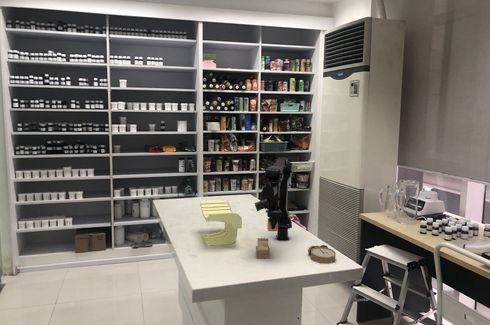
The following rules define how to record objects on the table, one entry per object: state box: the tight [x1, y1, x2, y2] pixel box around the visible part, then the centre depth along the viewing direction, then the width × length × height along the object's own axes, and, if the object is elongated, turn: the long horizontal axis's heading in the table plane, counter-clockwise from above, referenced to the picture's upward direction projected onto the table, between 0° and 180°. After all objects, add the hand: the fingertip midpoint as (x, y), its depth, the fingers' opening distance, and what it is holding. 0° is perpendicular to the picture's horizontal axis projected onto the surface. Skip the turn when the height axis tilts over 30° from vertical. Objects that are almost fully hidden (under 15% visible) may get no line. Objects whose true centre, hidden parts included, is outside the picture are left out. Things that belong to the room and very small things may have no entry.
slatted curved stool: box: [199, 199, 243, 246], centre depth 201 cm, size 30×16×18 cm, turn 14°
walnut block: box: [255, 245, 271, 260], centre depth 179 cm, size 6×6×4 cm
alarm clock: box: [307, 244, 337, 264], centre depth 178 cm, size 11×5×15 cm
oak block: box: [256, 237, 269, 250], centre depth 178 cm, size 5×5×4 cm
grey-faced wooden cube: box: [266, 217, 278, 232], centre depth 181 cm, size 4×4×5 cm
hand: (272, 227), depth 181 cm, fingers closed on grey-faced wooden cube, 4 cm apart
